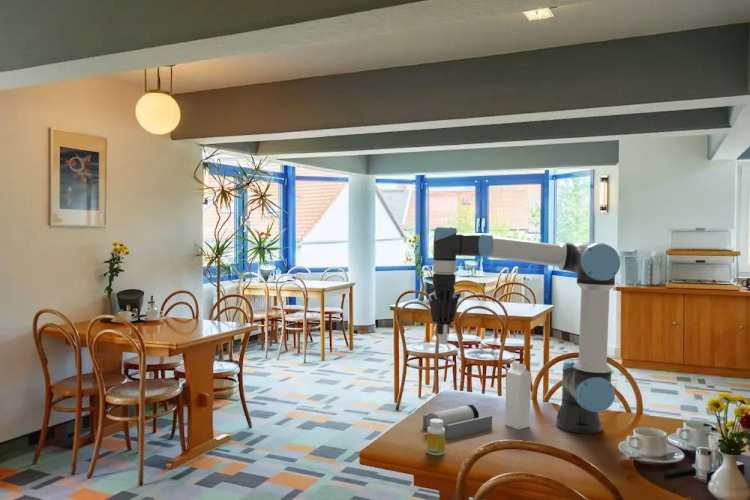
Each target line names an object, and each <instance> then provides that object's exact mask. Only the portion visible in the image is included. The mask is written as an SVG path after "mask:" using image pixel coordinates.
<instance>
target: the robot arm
mask: <svg viewBox="0 0 750 500" xmlns="http://www.w3.org/2000/svg"><path fill="white" fill-rule="evenodd" d="M457 256H460V257H461V256H463V257H484V258H485V257H486V258H490V259H493V258H494V259H498V260H499V259H500V260H506V261H512V262H513V261H515V262H522V263H529V264H530V263H531V264H536V265H545V266H552V267H557V268H558V269H559V270H560V271H565V272H570V273H574V274H576V284H577V285H578V286H579V288H580V289H581V290H580V294H581V295H580V317H579V337H578V338H579V340H578V341H579V343H578V345H579V346H578V360H566V361H564V362H563V366H562V371H561V372H562V384H561V387H562V388H561V404H560V407H559V408H558V412H557V414H556V419H555V425H556V426H557V427H558V428H559V429H561V430H564V431H566V432H571V433H575V434H576V433H577V434H585V435H591V434H593V435H594V434H598V433H600V432H602V430H603V429H602V428H603V426H602V425H603V424H602V420H601V417H600V412H604V411H606V410H608V409H609V408H610V407H611V406H612V405H613V403H614V401H615V397H616V392H615V388H614V386H613V383H612V367H610V366H609V365H608V363H607V362H608V358H607V357H608V338H609V337H608V336H609V317H610V315H609V312H610V290H611V289H613V288H614V287H615V286H616V275H617V274H618V273H619V271H620V268H621V259H620V255H619V253H618V251H617V250H616V249H614V248H613V247H612V246H611V245H609V244H607V243H605V242H581V243H572V242H571V243H570V242H562V243H561V244H554V243H547V242H540V241H532V240H524V239H517V238H509V237H503V236H502V237H500V236H493V235H492V234H491V233H484V232H483V233H477V232H476V233H472V232H471V233H470V232H469V233H465V232H464V233H461V232H458V229H457V228H456V227H455V226H437V227H436V228H435V229H434V231H433V260H432V261H433V263H432V264H433V265H432V272H434V273H433V274H432V284H433V288H432V292H431V293H430V294H427V295H426V298H427V300H428V302H429V308H430V314H431V315H430V316H431V321H432V323H435V324H437V329H436V330H437V334H438V341H437V342H438V344H440V345H444V346H445V345H448V334H449V333H450V331H449V328H450V325H452V323H453V322H454V321H455V318H456V317H455V316H456V312H457V311H456V310H457V306H458V302H459V299H460V297H461V293H459V292H458V293H457V292H456V289H455V285H456V281H457V280H456V279H457V277H456V274H455V273H456V271H457V269H456V268H457Z"/></svg>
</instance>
